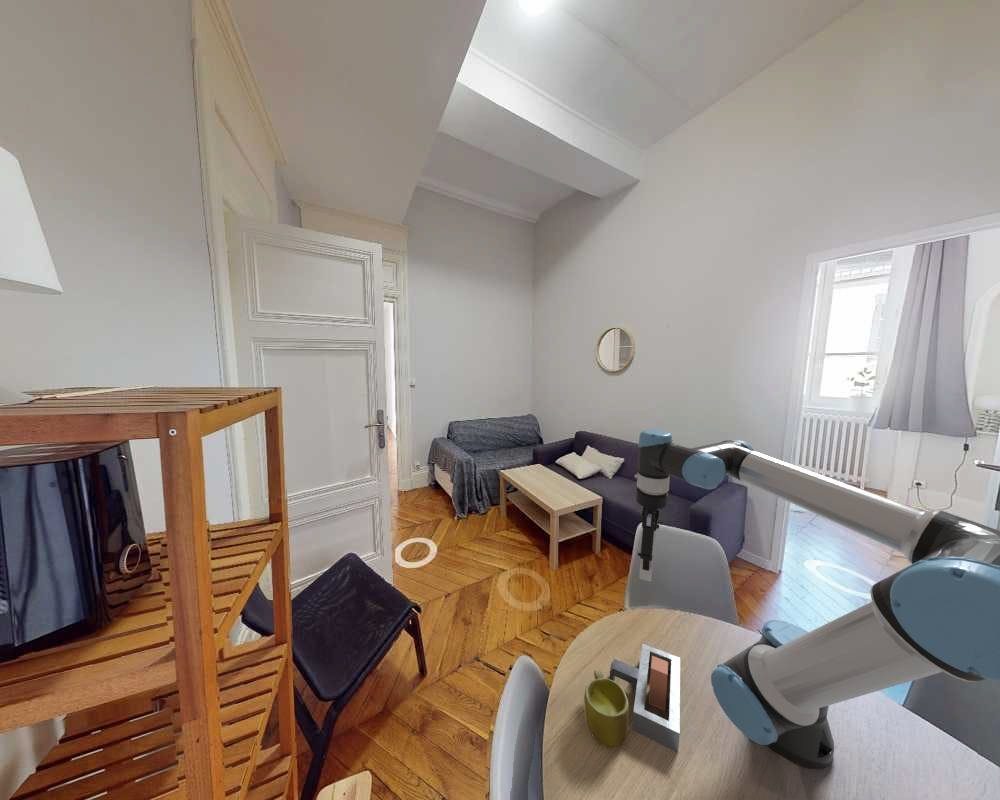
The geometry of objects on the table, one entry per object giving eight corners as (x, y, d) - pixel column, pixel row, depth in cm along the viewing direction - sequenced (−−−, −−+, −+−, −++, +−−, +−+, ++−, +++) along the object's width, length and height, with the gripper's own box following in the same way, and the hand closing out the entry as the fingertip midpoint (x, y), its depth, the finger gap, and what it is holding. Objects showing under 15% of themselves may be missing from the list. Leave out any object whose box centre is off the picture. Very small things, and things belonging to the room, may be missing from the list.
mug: (641, 757, 67) (626, 705, 68) (591, 758, 70) (577, 709, 71) (633, 705, 79) (620, 662, 80) (591, 708, 82) (579, 666, 83)
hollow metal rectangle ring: (678, 674, 86) (680, 657, 85) (678, 752, 70) (679, 733, 69) (616, 649, 93) (617, 633, 92) (602, 715, 77) (603, 697, 76)
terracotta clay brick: (649, 690, 82) (652, 655, 81) (665, 696, 81) (668, 661, 79) (648, 703, 79) (650, 667, 78) (664, 710, 78) (667, 674, 76)
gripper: (641, 470, 98) (638, 536, 101) (630, 507, 76) (626, 588, 80) (670, 474, 94) (665, 542, 98) (666, 514, 73) (660, 599, 76)
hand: (647, 563), depth 89 cm, fingers open, 13 cm apart
